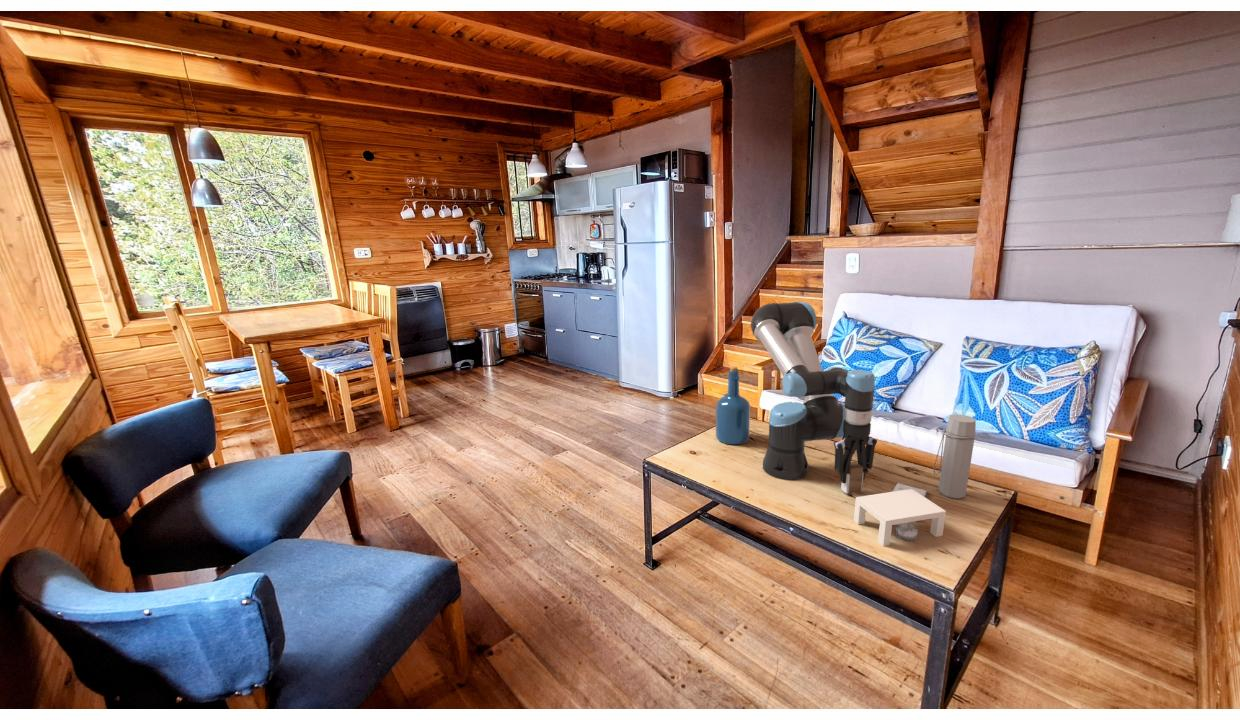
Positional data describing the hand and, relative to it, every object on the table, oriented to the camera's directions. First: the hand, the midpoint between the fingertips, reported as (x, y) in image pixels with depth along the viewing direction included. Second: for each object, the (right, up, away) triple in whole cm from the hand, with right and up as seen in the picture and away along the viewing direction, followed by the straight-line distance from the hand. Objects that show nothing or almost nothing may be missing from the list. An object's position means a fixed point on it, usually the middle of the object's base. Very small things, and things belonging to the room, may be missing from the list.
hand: (851, 490), depth 154 cm
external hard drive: (+15, -2, -4) cm, 16 cm away
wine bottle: (-28, +9, +43) cm, 52 cm away
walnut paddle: (+1, -2, -7) cm, 8 cm away
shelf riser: (+4, -6, -19) cm, 20 cm away
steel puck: (+4, -7, -22) cm, 23 cm away
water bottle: (+29, 0, -2) cm, 29 cm away
